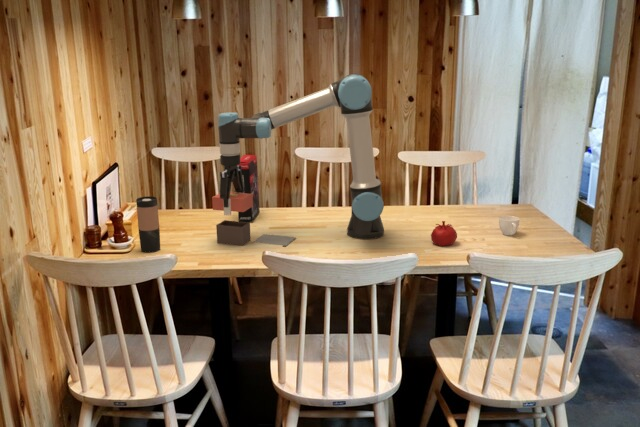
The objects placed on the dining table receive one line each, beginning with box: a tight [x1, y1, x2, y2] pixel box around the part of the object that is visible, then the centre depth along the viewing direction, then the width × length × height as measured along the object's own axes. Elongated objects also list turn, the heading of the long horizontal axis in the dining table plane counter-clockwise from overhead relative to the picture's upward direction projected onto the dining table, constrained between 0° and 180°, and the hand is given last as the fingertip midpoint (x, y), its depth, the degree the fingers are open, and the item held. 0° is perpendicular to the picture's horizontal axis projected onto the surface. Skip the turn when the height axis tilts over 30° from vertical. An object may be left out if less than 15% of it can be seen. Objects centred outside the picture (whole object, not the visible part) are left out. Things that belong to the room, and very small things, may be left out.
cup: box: [498, 215, 520, 237], centre depth 253 cm, size 8×10×7 cm
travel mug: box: [135, 195, 161, 254], centre depth 235 cm, size 8×8×20 cm
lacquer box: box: [215, 219, 251, 247], centre depth 244 cm, size 11×7×8 cm, turn 72°
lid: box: [211, 191, 253, 213], centre depth 240 cm, size 13×9×5 cm
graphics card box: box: [237, 154, 260, 223], centre depth 277 cm, size 17×7×27 cm, turn 175°
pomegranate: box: [430, 220, 458, 247], centre depth 242 cm, size 10×10×9 cm
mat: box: [252, 233, 297, 248], centre depth 247 cm, size 14×11×1 cm
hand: (233, 211), depth 242 cm, fingers closed on lid, 9 cm apart
